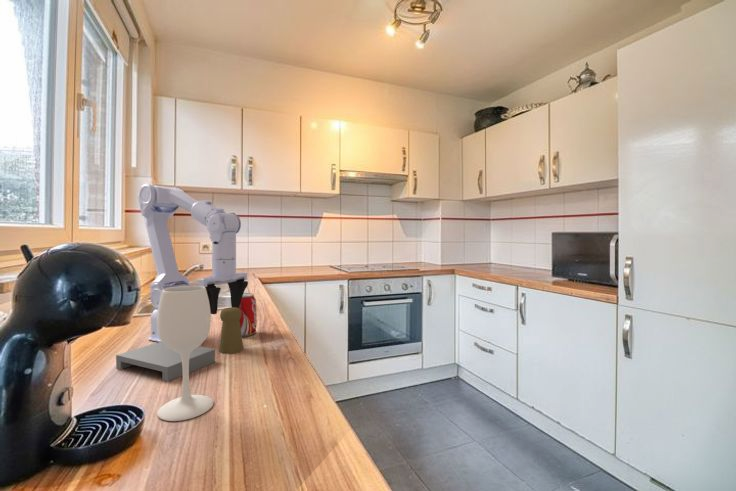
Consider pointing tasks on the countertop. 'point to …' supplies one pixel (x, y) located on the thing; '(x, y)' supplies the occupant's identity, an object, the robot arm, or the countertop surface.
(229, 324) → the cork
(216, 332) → the countertop surface
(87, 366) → the countertop surface
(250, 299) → the soda can
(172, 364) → the gray flat panel
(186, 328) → the wineglass
